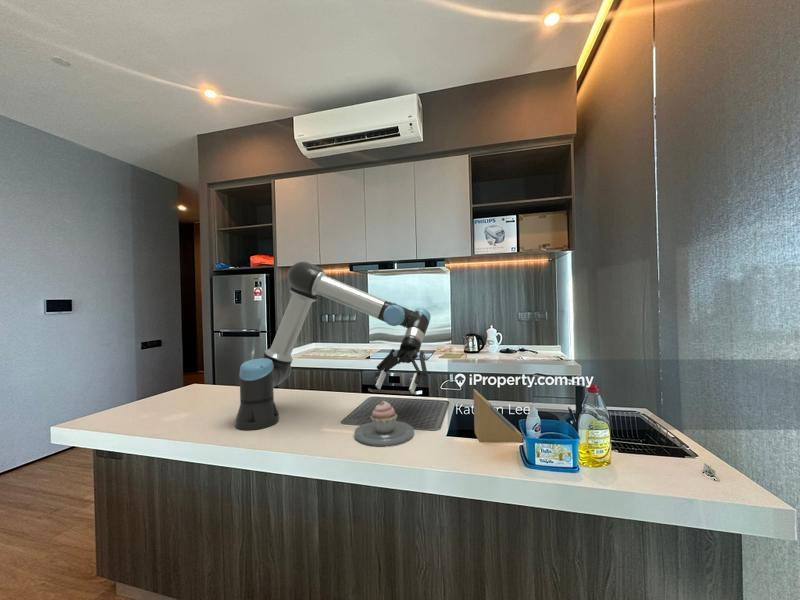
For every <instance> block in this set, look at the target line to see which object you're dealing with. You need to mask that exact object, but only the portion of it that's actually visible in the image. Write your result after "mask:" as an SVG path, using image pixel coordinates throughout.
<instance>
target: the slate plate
mask: <svg viewBox="0 0 800 600" xmlns="http://www.w3.org/2000/svg"><path fill="white" fill-rule="evenodd" d="M353 435H354V439H355V441H356V442H357V443H360V444H361V445H365V446H369V447H374V446H375V448H376V447H378V448H381V447H382V448H387V447H386V446H388V447H393V446H399V445H402V444H404V443H407V442H409V441H411V440H412V439H413V438H414V436H415V429H414V427H413V426H412V425H411V424H409V423H407V422H404V421H398V420H396V422H395V426H394V430H393V431H392V432H389V433H378V432H376V431H375V428H374V424H373V421H370V422H366V423H363V424H362V425H359V426H358V427H357V428H355V430H354V434H353Z"/></svg>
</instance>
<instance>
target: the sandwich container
mask: <svg viewBox="0 0 800 600" xmlns="http://www.w3.org/2000/svg"><path fill="white" fill-rule="evenodd" d="M472 392H473V417H474V418H473V421H474V422H473V423H474V424H473V425H474V427H473V429H474V434H475V437H476V438H477V441H478V443H523V442H522V441H523V440H522V435H523V434H522V433H521V432H520V431H519V430H518V428H516V426H515V425H514V424H512V423H511V422H510V421H509V420H508V419H507V418H505V416H503V414H501V413H500V412H499V411H498V409H496V408H495V407H494V406H493V405H492V404H491V403H490V402H489V401H488V400H487V399H486V398H485V397H484V396H483V395H481V393H479V392H478V391H477V390H476V389H475V388H473V391H472ZM521 434H522V435H521Z"/></svg>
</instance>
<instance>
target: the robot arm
mask: <svg viewBox="0 0 800 600" xmlns="http://www.w3.org/2000/svg"><path fill="white" fill-rule="evenodd" d="M287 280H288V283H289V284H290V286H291V287H290V288H289V289H290V290H289V292H290V293H291V297H290V299H289V302H288V304H287V306H286V308H285V312H284V314H283V316H282V320H281V322H280V323H279V327H278V328H277V332H276V334H275V337H274V339H273V341H272V344H271V346H270V348H268V349H266V350H265V351H264V353H263V356H262V358H254V359H250V360H247V361H244V362H243V363H242V364H241V365H240V368H239V373H238V374H239V375H238V376H239V398H240V399H239V401H240V404H239V408H238V411H237V414H236V417H235V424H234V425H235V428H236V429H239V430H241V431H251V430H252V431H253V430H255V431H256V430H261V429H264V428H268V427H271V426H273V425H276V424H277V423H278V422H279V421H280V419H279V418H280V416H279V415H280V413H279V412H278V409H277V406H276V403H275V400H274V393H275V391H274V388H276V387H278V386H279V385H281V384H283V383H284V382H286V380H287V379H288V378H289V376H290V375H291V372H292V366H291V365H292V362H293V356H292V352H293V351H294V348H295V345H296V344H297V343H296V342H297V340H298V338H299V335H300V333H301V331H302V328H303V325H304V323H305V320H306V318H307V316H308V313H309V311H310V308H311V306H312V304H313V303H314V302H317V300H318V298H319V296H321V297H324V298H327V299H329V300H332V301H334V302H336V303H338V304H340V305H344V306H345V307H348V308H351V309H353V310H355V311H358V312H360V313H363V314H365V315H368V316H370V317H371V318H372V317H373V318H375V319H377V320H379V321H381V322H384V323H386V324H387V325H389V326H392V327H397V326H401V327H403V328H406V331H405V333H404V335H403V339H402V341H401V342H400V345H399V349H398V350H395V348H392V349H390V351H389V353H388V354H387V355H386V356H385V357H384V359H383V360H382V361H381V362H380V363H378V365H377V366H376V369H377V371H378V375H377V377H376V378H377V380H376V383H375V387H376V388H377V390H381V388H382V385H383V384H384V380H385V378H386V376H387V372H388V371H390V370H391V369H392V368H394V367H395V366H397V365H400V364H402V363H403V364H406V363H407V364H410V363H412V366H413V367H414V370H415V371H416V372H414V374H413V376H412V379H411V383H410V385H409V388H408V391H409V392H410V393H411V394H414V393H415V390H416V388H417V385H419V384H420V382H421V379H422V377H427V376H428V370H427V366H426V361H425V358H426V354H425V352H424V350H421V346H422V344H423V341H424V338H425V335H426V333H427V330H428V327H429V324H430V322H431V313H430V312H429V310H427V309H426V308H422V307H421V308H419V307H418V308H416V309H414V310H411V309H409V308H407V307H404V306H402V305H400V304H397V303H395V302H392V301H387V300H385V299H383V298H380V297H377V296H376V295H373V294H370V293H368V292H366V291H363V290H361V289H359V288H356V287H354V286H351V285H349V284H347V283H344V282H341V281H339V280H337V279H334V278H332V277H329V276H327V275H326V272H325V270H324V269H323V268H321V266H318V265H316V264H312V263H310V262H308V261H299V262H296V263H294V264H293V265H292V266H291V267H290V268H289V271H288V274H287ZM416 358H419V360H420V361H419V363H420V367H421V369H420V368H419V367H418V364H417V362H416V361H415V359H416Z"/></svg>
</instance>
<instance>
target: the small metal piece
mask: <svg viewBox="0 0 800 600" xmlns="http://www.w3.org/2000/svg"><path fill="white" fill-rule="evenodd" d="M711 467H712V466H711V465H710V466H709V465H708V464H707V463H705V462H704V463H703V466H702V469H701V472H702V471H703V472H704V473H705V474H706V475H707V476H710V477H715V478H716V479H717V480H718V481H719V479H718V476H717V474H716V470H715V469H713V468H711ZM703 472H702V473H703Z"/></svg>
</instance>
